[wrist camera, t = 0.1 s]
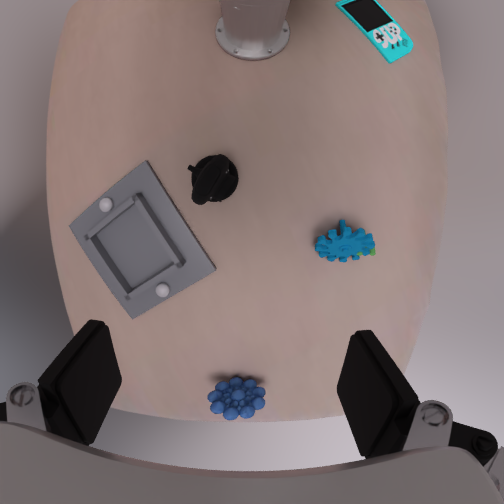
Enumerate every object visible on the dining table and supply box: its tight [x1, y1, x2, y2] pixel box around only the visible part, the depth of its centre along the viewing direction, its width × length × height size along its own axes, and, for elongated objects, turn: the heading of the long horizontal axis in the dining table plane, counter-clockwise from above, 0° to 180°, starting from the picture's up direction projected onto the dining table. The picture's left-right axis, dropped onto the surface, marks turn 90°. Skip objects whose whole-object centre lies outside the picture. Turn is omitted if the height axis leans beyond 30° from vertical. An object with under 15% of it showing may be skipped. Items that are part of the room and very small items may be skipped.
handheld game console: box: [335, 0, 413, 63], centre depth 35 cm, size 10×16×1 cm, turn 39°
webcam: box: [188, 154, 238, 205], centre depth 39 cm, size 8×8×10 cm
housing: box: [69, 161, 216, 319], centre depth 45 cm, size 22×20×4 cm
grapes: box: [208, 377, 265, 420], centre depth 50 cm, size 12×7×12 cm, turn 82°
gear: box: [315, 220, 376, 262], centre depth 44 cm, size 11×6×10 cm
